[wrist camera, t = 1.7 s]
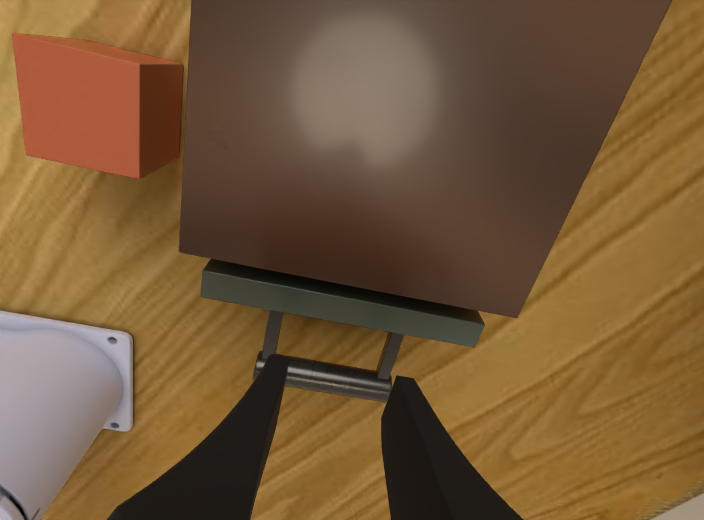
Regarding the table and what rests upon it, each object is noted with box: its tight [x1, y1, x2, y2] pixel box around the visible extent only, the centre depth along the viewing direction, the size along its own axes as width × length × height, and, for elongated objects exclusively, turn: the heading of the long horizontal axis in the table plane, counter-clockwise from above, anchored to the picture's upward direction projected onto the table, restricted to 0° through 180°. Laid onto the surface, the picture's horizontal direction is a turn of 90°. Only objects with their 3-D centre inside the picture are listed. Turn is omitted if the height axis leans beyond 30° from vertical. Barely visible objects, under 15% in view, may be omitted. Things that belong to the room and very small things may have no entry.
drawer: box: [201, 259, 485, 402], centre depth 17 cm, size 18×11×6 cm, turn 167°
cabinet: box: [179, 0, 672, 318], centre depth 15 cm, size 14×12×7 cm
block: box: [12, 33, 183, 179], centre depth 17 cm, size 4×4×4 cm
